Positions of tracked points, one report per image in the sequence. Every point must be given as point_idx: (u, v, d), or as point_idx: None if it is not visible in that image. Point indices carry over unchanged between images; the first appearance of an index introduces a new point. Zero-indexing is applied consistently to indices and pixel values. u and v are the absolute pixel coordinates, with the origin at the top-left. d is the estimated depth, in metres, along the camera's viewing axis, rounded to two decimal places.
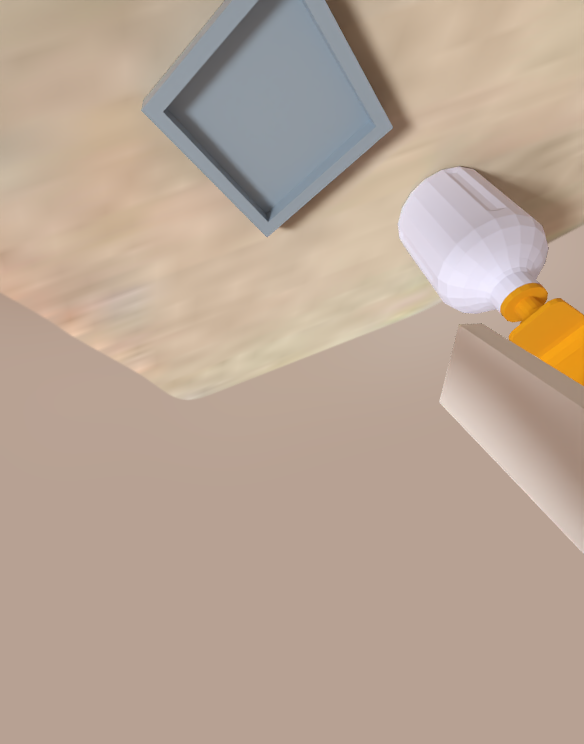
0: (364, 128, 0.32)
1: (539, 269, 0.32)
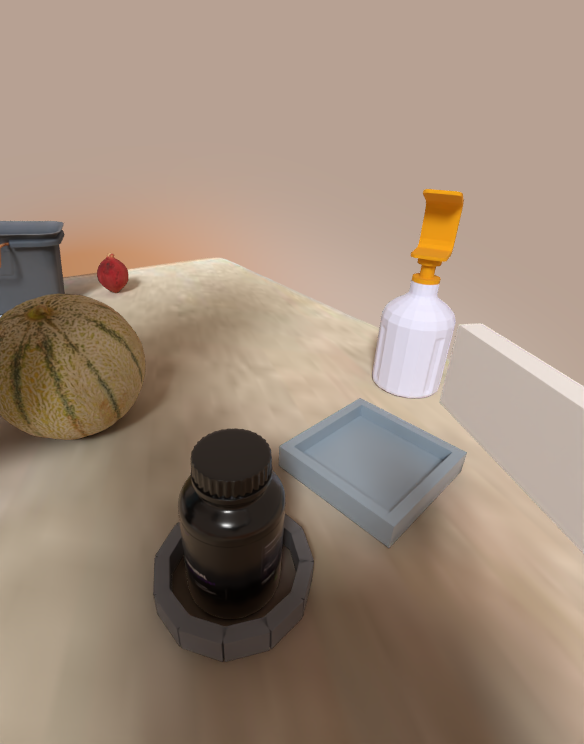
0: (365, 414, 0.46)
1: None
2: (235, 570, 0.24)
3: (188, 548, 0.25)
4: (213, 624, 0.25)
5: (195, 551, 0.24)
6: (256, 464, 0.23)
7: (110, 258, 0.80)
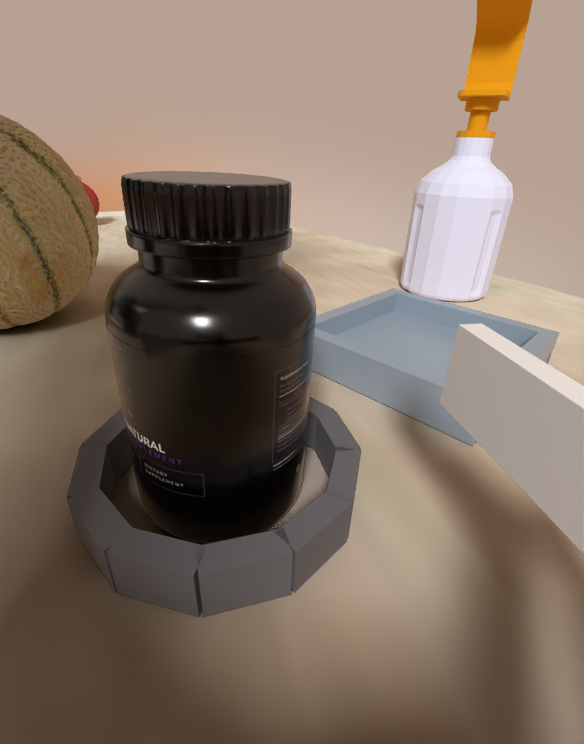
0: (402, 307, 0.34)
1: None
2: (220, 424, 0.12)
3: (125, 388, 0.12)
4: (179, 541, 0.12)
5: (137, 385, 0.12)
6: (261, 182, 0.11)
7: None
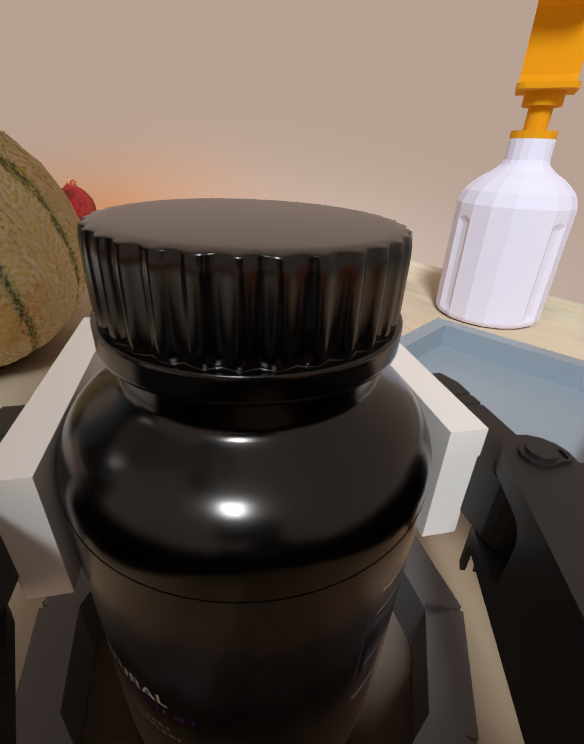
0: (450, 341, 0.28)
1: None
2: (271, 684, 0.06)
3: (95, 598, 0.07)
4: None
5: (115, 613, 0.06)
6: (365, 232, 0.05)
7: (71, 185, 0.62)
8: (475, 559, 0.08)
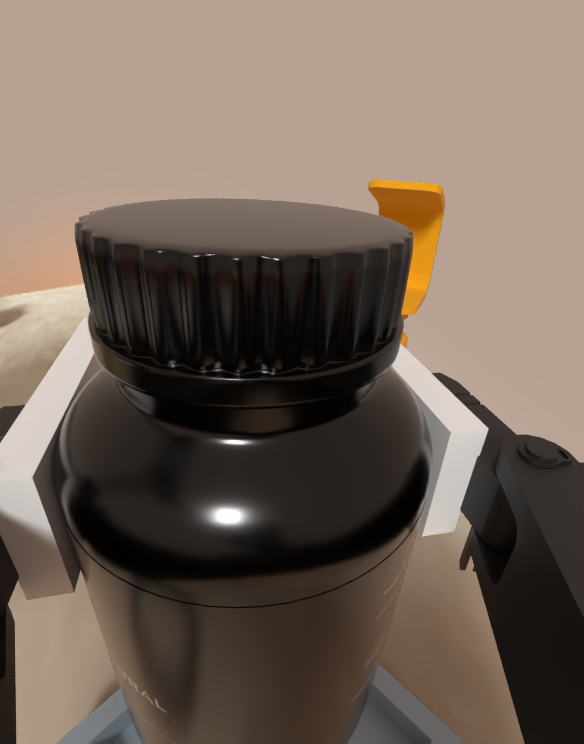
0: None
1: None
2: (271, 688, 0.06)
3: (94, 601, 0.07)
4: None
5: (114, 617, 0.06)
6: (366, 233, 0.05)
7: None
8: (475, 559, 0.08)
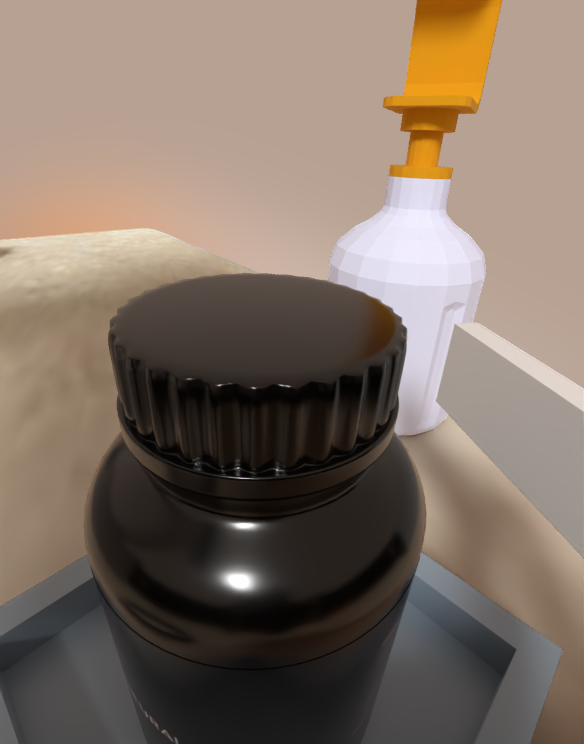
0: None
1: None
2: (280, 731, 0.07)
3: (119, 650, 0.07)
4: None
5: (139, 669, 0.07)
6: (365, 337, 0.06)
7: None
8: None
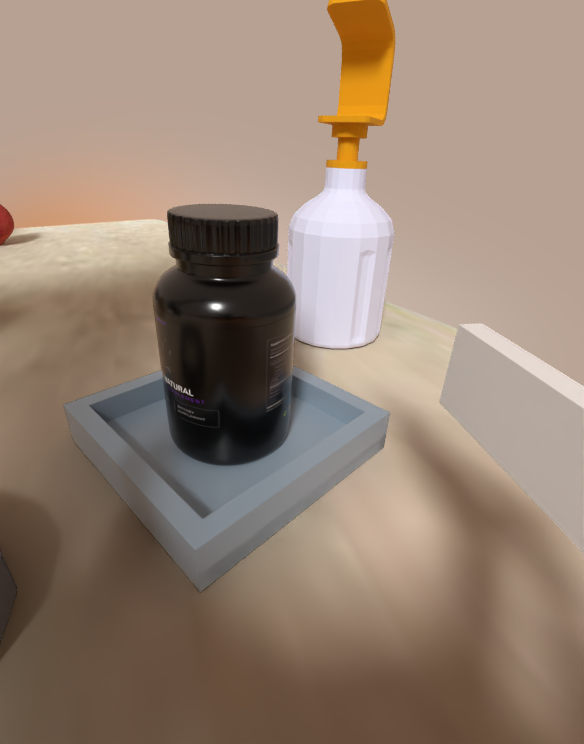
0: None
1: None
2: (230, 374, 0.18)
3: (167, 351, 0.18)
4: None
5: (176, 348, 0.18)
6: (258, 216, 0.17)
7: None
8: None
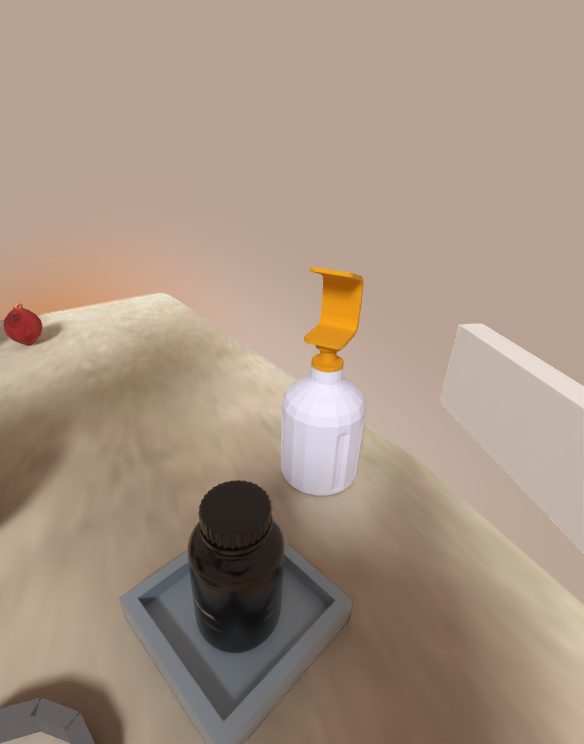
0: None
1: None
2: (240, 611, 0.27)
3: (197, 592, 0.27)
4: None
5: (204, 595, 0.27)
6: (258, 517, 0.26)
7: (17, 309, 0.72)
8: None
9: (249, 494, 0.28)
